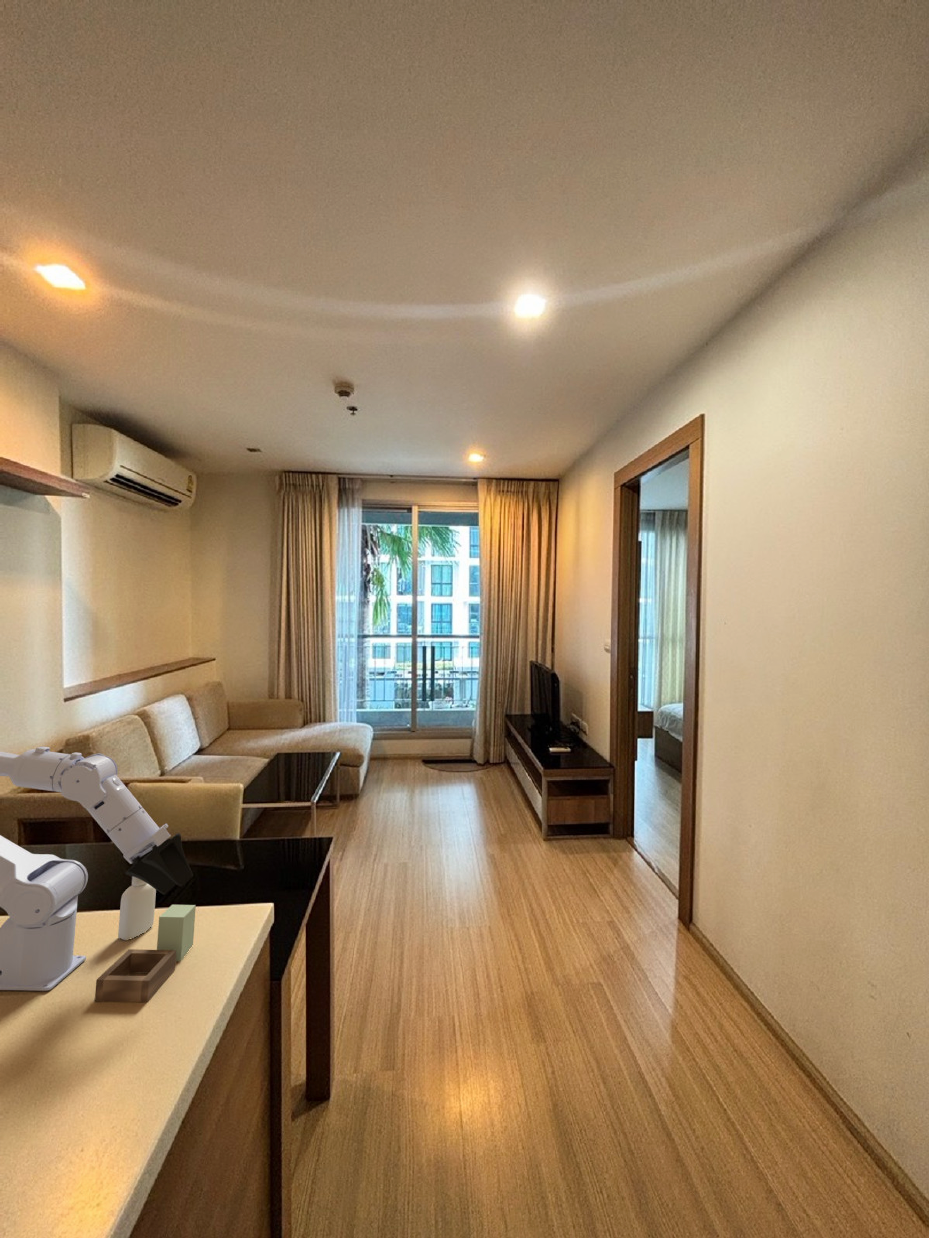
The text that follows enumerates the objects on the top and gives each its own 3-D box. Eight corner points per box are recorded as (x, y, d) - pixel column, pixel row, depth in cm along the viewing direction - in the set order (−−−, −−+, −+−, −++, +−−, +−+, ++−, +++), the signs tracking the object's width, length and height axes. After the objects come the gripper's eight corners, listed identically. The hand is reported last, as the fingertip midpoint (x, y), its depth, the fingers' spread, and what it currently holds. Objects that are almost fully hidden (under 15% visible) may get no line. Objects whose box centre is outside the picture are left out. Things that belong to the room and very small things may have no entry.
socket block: (94, 1001, 73) (96, 979, 74) (127, 968, 81) (128, 949, 81) (147, 1001, 74) (149, 980, 74) (175, 969, 81) (176, 950, 81)
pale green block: (155, 960, 83) (159, 916, 84) (169, 946, 87) (172, 904, 88) (180, 961, 83) (183, 917, 84) (192, 946, 87) (195, 905, 88)
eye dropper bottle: (115, 932, 91) (120, 863, 91) (151, 922, 94) (156, 856, 95) (119, 943, 87) (124, 872, 88) (156, 932, 91) (161, 863, 92)
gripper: (163, 791, 81) (216, 857, 82) (135, 814, 89) (183, 874, 90) (119, 822, 75) (177, 893, 76) (93, 844, 83) (146, 907, 84)
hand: (178, 885), depth 82 cm, fingers open, 7 cm apart
